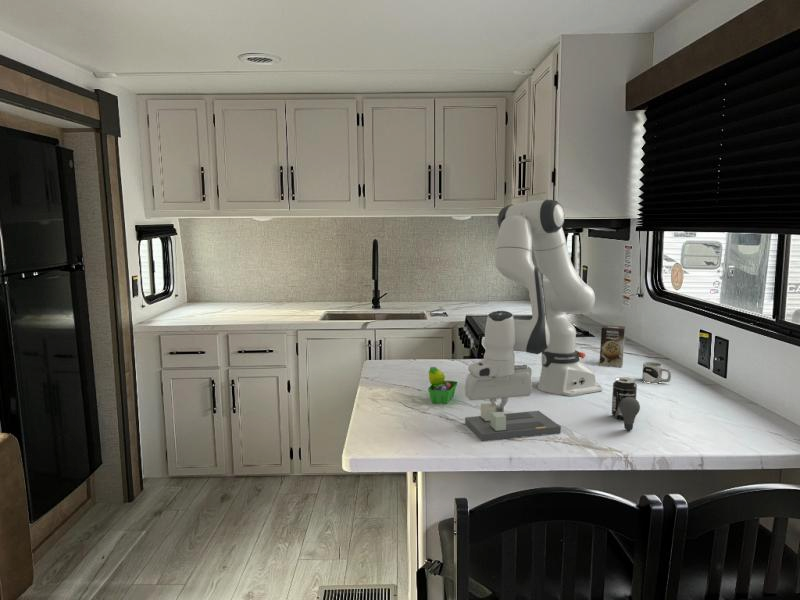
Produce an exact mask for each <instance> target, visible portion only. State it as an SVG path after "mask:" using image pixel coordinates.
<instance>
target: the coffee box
mask: <svg viewBox="0 0 800 600" xmlns="http://www.w3.org/2000/svg"><path fill="white" fill-rule="evenodd" d="M625 332H626V326H622V325H610V324H602V325H601V331H600V333H601V334H600V349H599V364H598V365H599V366H601V367H602V366H603V367H610V366H612V367H614V368H621V367H622V366H623V365H624V353H625V352H624V349H625V348H624V347H625V337H626V336H625V335H626V333H625ZM612 367H611V368H612ZM622 368H623V367H622Z"/></svg>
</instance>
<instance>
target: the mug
mask: <svg viewBox="0 0 800 600" xmlns="http://www.w3.org/2000/svg"><path fill="white" fill-rule="evenodd" d="M671 371H672V370H670V368H669V369H668V368H666V367H663V364H662V363H660V362H655V361H645V362H643V363H642V380H643V381H645V382H650V383H659V382H661V383H669V382H671V380H672V372H671ZM663 372H667V374H668V375H667V378H663ZM643 381H642V382H643ZM645 382H644V383H645Z"/></svg>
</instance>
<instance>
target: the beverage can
mask: <svg viewBox="0 0 800 600" xmlns="http://www.w3.org/2000/svg"><path fill="white" fill-rule="evenodd" d="M635 381H636V380H635V379H634V378H630V377H623V376H622V377H619V376H618V377H616V378H615V380H614V382H613V383H612V396H611V397H612V398H611V414H612V416H613V417H614V418H616V419H618V420H622V421H624V419H623V415H622V413H621V410H620V407H619V404H620V402H621V400H622V399H623V398H626V397H633V398H635V399H636V400H637V389H638V385H637V384H636V382H635Z"/></svg>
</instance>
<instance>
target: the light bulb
mask: <svg viewBox="0 0 800 600" xmlns="http://www.w3.org/2000/svg"><path fill="white" fill-rule="evenodd" d="M640 405H641V404H640V402H639V401H638V399H637V398H636V399H635V398H633V397H626V398H623V399H622V400H621V402H620V404H619V407H620V410H621V413H622V415H623V419H624V420H623V425H624V428H623V429H625V430H626V431H627V432H630V431H632V430H633V429H634V423H635V419H636V417H637V415H638V414H639V412H640V411H641V406H640Z"/></svg>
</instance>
